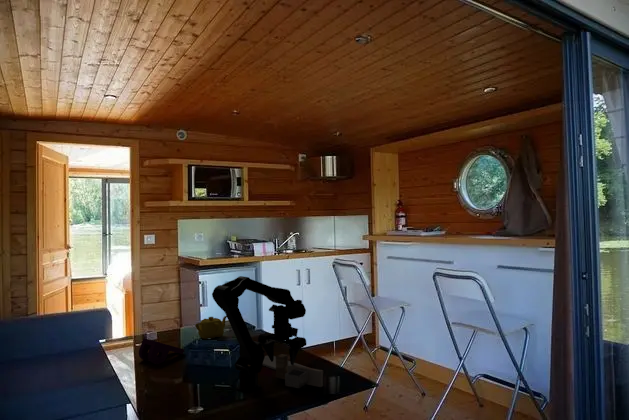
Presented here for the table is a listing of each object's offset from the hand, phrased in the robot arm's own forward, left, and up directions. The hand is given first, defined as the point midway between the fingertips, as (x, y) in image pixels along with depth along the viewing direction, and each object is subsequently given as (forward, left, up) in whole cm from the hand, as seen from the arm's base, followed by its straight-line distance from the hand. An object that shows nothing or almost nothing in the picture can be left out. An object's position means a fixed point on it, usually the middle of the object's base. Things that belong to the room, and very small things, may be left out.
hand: (282, 363), depth 170 cm
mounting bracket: (-5, +58, -6) cm, 59 cm away
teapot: (+30, +63, -5) cm, 70 cm away
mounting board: (-1, -11, -5) cm, 12 cm away
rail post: (0, 0, -5) cm, 5 cm away
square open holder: (-6, -11, -4) cm, 13 cm away
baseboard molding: (+10, +4, -6) cm, 13 cm away
